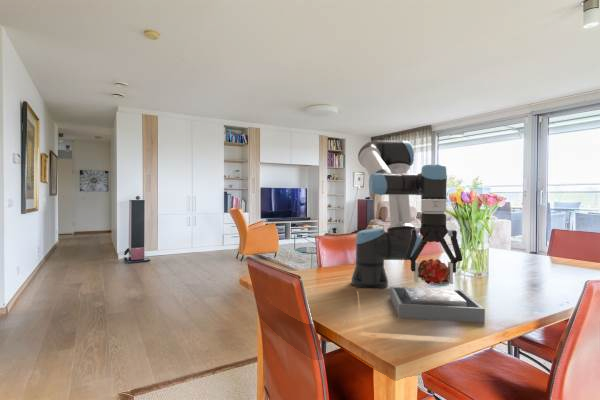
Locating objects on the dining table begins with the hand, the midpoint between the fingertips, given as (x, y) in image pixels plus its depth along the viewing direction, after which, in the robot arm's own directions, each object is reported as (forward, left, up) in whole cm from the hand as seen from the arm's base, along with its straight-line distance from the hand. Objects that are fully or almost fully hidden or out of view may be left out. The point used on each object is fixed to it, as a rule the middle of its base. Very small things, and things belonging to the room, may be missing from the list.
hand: (432, 282), depth 109 cm
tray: (0, 0, -10) cm, 10 cm away
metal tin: (0, 0, -9) cm, 9 cm away
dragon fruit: (0, 0, 0) cm, 0 cm away
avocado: (+15, +45, -10) cm, 49 cm away
